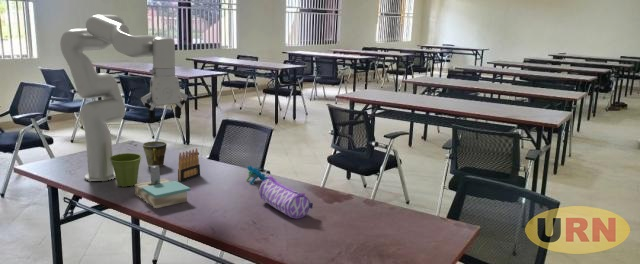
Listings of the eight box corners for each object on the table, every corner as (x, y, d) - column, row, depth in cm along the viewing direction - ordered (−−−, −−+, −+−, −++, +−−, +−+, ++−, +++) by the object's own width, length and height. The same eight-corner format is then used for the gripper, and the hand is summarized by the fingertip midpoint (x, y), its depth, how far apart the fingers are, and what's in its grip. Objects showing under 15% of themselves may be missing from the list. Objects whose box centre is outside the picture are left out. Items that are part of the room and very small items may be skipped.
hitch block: (135, 194, 197) (134, 184, 196) (165, 188, 204) (165, 178, 203) (155, 208, 183) (154, 197, 182) (187, 201, 191) (186, 190, 190)
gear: (273, 180, 211) (256, 165, 206) (265, 192, 209) (247, 178, 205) (260, 177, 220) (244, 162, 216) (252, 188, 218) (235, 174, 214)
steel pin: (150, 192, 197) (148, 166, 194) (158, 190, 199) (157, 164, 196) (153, 194, 194) (152, 168, 192) (162, 192, 196) (160, 166, 194)
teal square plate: (141, 190, 189) (141, 187, 189) (175, 183, 198) (175, 180, 197) (155, 198, 180) (155, 195, 180) (190, 190, 189) (190, 188, 188)
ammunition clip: (181, 182, 212) (180, 153, 209) (177, 181, 213) (176, 152, 210) (200, 175, 221) (199, 148, 218) (197, 175, 222) (196, 147, 219)
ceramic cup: (144, 163, 237) (142, 141, 234) (167, 161, 240) (166, 140, 237) (143, 171, 225) (142, 148, 222) (168, 170, 228) (167, 147, 225)
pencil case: (313, 216, 180) (313, 190, 177) (291, 223, 174) (291, 195, 172) (276, 198, 196) (276, 174, 194) (255, 203, 191) (255, 178, 189)
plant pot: (104, 187, 203) (102, 159, 201) (123, 178, 214) (121, 152, 212) (132, 190, 200) (130, 162, 198) (149, 181, 212) (147, 154, 209)
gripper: (144, 74, 180) (146, 123, 184) (191, 72, 191) (191, 118, 195) (136, 72, 186) (138, 119, 190) (182, 70, 197) (182, 115, 201)
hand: (165, 119), depth 192 cm, fingers open, 9 cm apart
